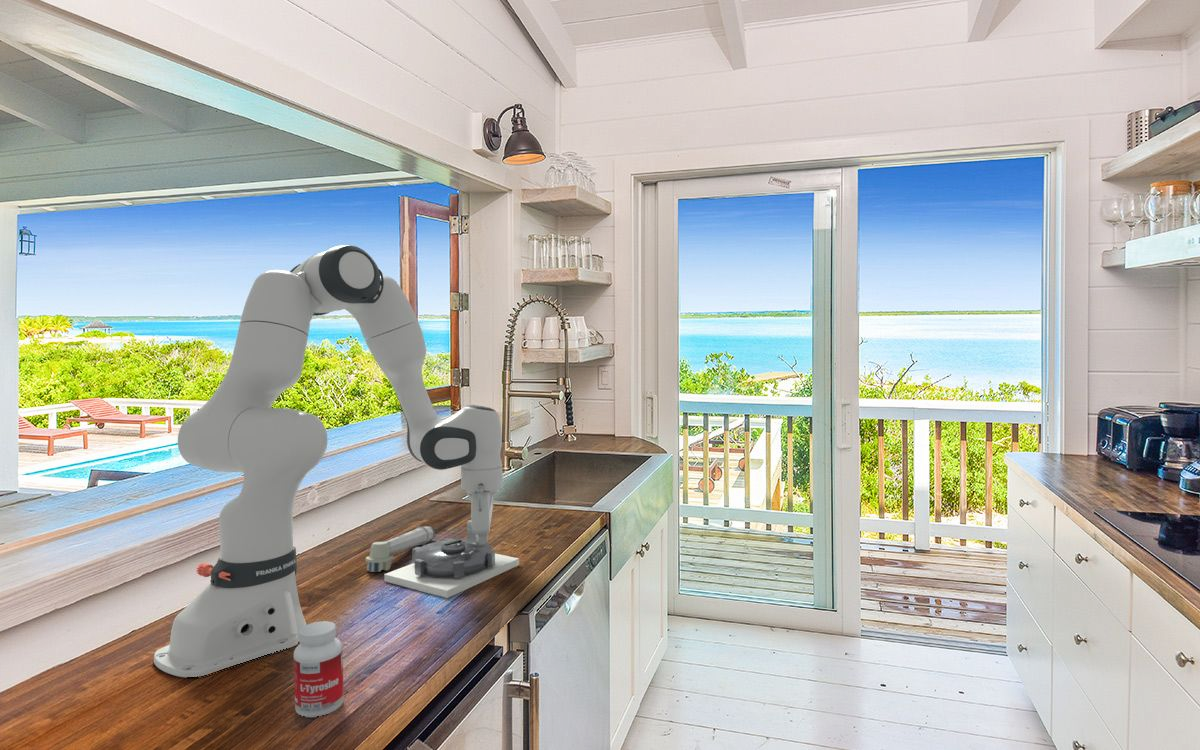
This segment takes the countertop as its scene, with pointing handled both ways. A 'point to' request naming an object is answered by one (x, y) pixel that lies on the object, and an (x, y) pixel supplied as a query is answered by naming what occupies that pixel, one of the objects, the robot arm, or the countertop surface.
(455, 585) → the base plate
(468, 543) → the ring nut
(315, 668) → the pill bottle
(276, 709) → the countertop surface
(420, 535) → the toothbrush head
